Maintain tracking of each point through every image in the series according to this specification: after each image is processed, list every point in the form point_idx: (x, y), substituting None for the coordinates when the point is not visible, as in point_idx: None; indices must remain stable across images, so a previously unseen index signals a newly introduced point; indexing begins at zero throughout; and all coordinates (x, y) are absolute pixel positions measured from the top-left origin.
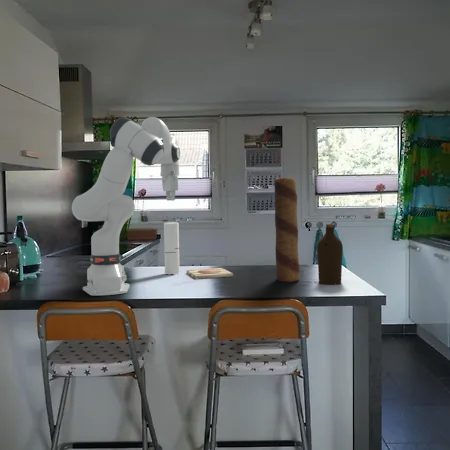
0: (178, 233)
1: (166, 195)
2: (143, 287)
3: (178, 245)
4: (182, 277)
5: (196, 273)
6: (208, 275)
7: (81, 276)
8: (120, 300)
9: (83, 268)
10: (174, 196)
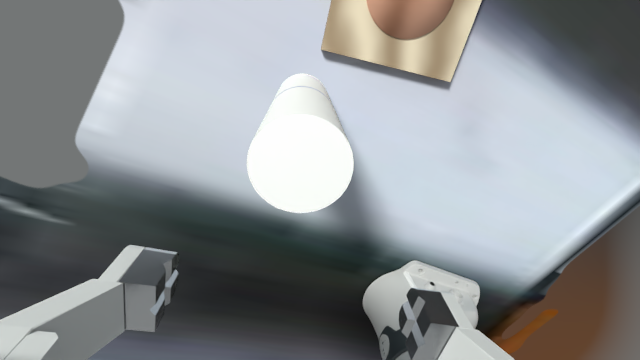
0: (330, 110)
1: (90, 351)
2: (447, 239)
3: (328, 100)
4: (388, 102)
5: (412, 55)
6: (468, 34)
7: (207, 308)
8: (525, 303)
9: (50, 282)
10: (478, 335)
